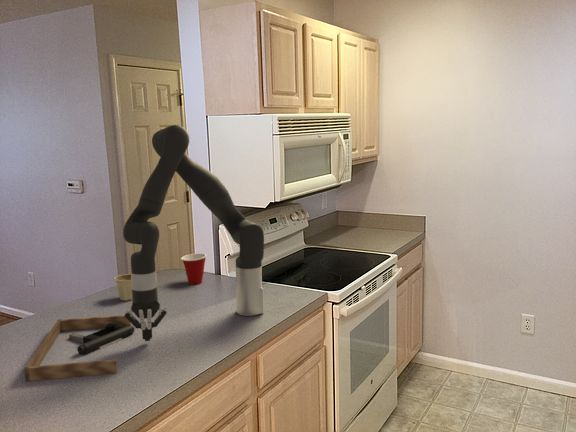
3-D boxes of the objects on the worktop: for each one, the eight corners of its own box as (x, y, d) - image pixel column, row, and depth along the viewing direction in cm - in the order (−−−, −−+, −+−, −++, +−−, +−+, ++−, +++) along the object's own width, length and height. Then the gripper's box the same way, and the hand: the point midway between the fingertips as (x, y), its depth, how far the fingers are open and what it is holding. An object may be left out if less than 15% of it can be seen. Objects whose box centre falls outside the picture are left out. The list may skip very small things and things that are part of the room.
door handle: (51, 338, 157) (85, 347, 148) (105, 318, 174) (138, 325, 165) (52, 349, 157) (86, 358, 149) (106, 328, 174) (139, 334, 166)
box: (130, 324, 174) (130, 314, 173) (116, 373, 139) (115, 360, 138) (58, 329, 169) (58, 319, 169) (25, 381, 134) (24, 368, 134)
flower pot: (118, 294, 205) (117, 274, 204) (142, 294, 206) (141, 273, 204) (113, 302, 196) (111, 280, 194) (138, 301, 197) (136, 280, 195)
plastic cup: (181, 280, 225) (180, 253, 223) (206, 278, 228) (205, 252, 226) (182, 287, 215) (181, 259, 213) (208, 285, 217) (207, 257, 215)
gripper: (167, 281, 159) (170, 333, 162) (123, 283, 157) (126, 337, 160) (166, 288, 152) (169, 343, 155) (120, 291, 150) (123, 346, 153)
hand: (147, 339), depth 157 cm, fingers closed
